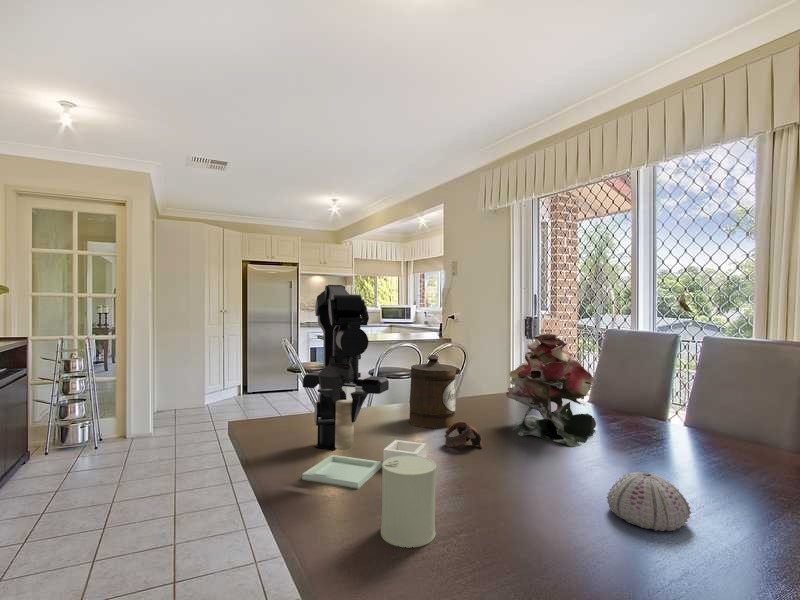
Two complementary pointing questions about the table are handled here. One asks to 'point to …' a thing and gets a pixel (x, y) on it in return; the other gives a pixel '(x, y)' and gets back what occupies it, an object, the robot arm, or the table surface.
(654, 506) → the sea urchin shell
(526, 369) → the rose bouquet
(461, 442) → the brown rounded hollow piece
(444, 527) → the table surface
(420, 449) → the white square tube
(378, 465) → the tray
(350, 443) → the dowel
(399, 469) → the can
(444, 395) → the wooden container
